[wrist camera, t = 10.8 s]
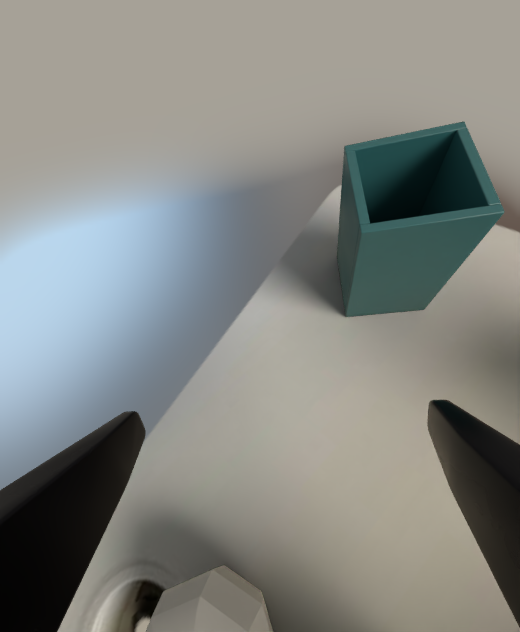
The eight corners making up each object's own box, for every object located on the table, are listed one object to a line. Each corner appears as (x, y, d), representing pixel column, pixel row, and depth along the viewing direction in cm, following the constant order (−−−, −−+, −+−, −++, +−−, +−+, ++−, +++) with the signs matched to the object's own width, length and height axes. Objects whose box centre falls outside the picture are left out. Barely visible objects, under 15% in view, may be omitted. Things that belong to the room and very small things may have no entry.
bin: (424, 309, 22) (505, 212, 12) (345, 317, 23) (361, 233, 13) (407, 246, 24) (464, 120, 14) (336, 256, 25) (344, 145, 16)
